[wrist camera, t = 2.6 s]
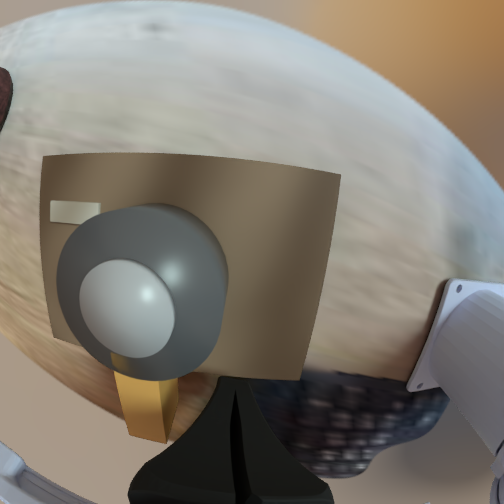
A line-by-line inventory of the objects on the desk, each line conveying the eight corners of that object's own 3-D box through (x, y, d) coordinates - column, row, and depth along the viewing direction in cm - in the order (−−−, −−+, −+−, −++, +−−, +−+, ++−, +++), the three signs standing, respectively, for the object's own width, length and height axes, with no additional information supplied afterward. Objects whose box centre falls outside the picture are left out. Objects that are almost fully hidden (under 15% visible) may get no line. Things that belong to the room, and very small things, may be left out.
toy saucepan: (97, 198, 10) (43, 206, 7) (236, 210, 10) (231, 222, 7) (112, 384, 12) (87, 429, 9) (217, 405, 13) (212, 459, 9)
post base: (333, 175, 11) (342, 174, 10) (296, 368, 14) (299, 382, 12) (54, 157, 11) (40, 156, 10) (62, 329, 13) (51, 338, 12)
